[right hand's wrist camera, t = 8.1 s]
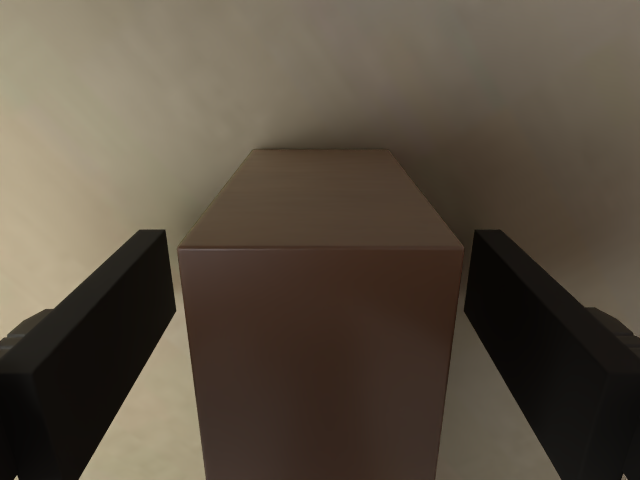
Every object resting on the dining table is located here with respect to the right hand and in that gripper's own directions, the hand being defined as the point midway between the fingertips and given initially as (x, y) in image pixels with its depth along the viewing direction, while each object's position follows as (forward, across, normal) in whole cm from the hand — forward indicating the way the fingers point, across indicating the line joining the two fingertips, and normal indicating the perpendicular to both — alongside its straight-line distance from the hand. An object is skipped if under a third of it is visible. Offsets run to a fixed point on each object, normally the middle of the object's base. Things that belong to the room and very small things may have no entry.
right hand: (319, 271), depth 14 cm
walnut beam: (+1, 0, -10) cm, 10 cm away
